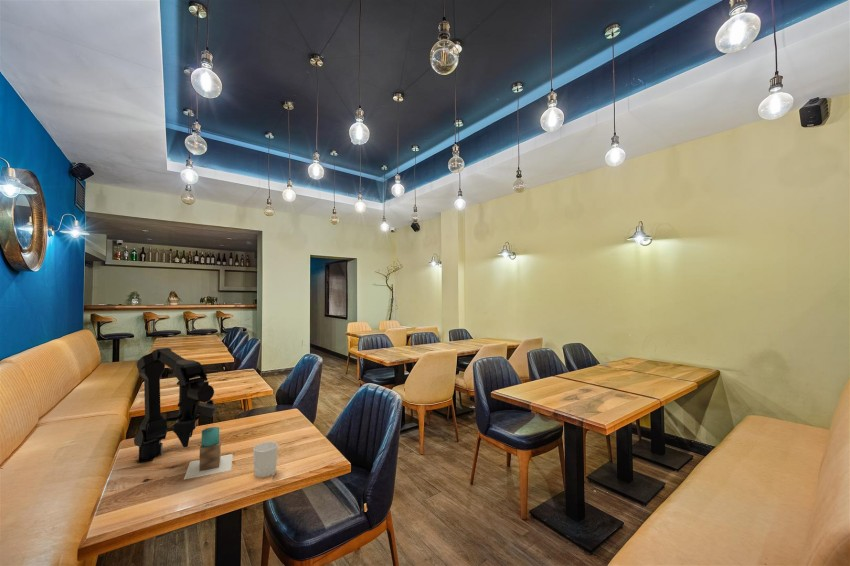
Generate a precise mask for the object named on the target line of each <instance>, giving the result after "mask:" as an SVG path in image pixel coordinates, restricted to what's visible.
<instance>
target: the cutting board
mask: <svg viewBox="0 0 850 566" xmlns="http://www.w3.org/2000/svg"><path fill="white" fill-rule="evenodd" d="M233 457H234V453H231V454H224V455H220V465H219V468H214V469H209V470H204V471H199V464H200V459H198V460H197V459H196V460H191V461H190V462H189V464H188V467H187V470H186V472H185V475H184V478H183V481H184V480H189V479H194V478H199V477H203V476H208V475H213V474H219V473H224V472H229V471H230V472H231V470H232V465H233Z"/></svg>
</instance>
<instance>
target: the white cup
mask: <svg viewBox="0 0 850 566" xmlns="http://www.w3.org/2000/svg"><path fill="white" fill-rule="evenodd" d="M278 447H279V444H278V443H277V442H275V441H265V442H261V443H260V442H259V443H258V444H256V445H254V446H253V449H252V450H253V454H252V455H253V470H254V476H255V477H256V478H266V477H269V476H271V477H272V476H275V475H276V472H277V465H278V464H277V463H278V462H277V461H278Z"/></svg>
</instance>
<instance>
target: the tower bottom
mask: <svg viewBox="0 0 850 566" xmlns="http://www.w3.org/2000/svg"><path fill="white" fill-rule="evenodd" d="M220 453H221V450H220ZM220 456H221V454H220V455H219V456H218V457H213V458H207V459H202V460H200V459H199V460H200V464H199V471H204V470H209V469H214V468H219V465H220Z"/></svg>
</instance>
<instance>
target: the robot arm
mask: <svg viewBox="0 0 850 566" xmlns="http://www.w3.org/2000/svg"><path fill="white" fill-rule="evenodd" d="M166 366H167V367H168V368H169V369H171V370H172V371H173V372H174V374H173V375H174V377H175V378H176V379H177V380H178V381H177V382H176V385H177V386H179V387H178V388H179V390H178V392H179V394H178V403H177V407H178V414H177V420H176V421H175V422H174V423H173V425H172V432H173V433H174V434H175V435H176V437H177V439H178V440H179V442H180V443H181V445H182V447H183V448H188V446H189V441H190V438H192V436H193V433H194V430H195V429H196V428H197V421H198V419H200V417H201V416H206V417H208V418H212V417H213V416H214V414H215V412H216V411H215V410H216V408H217V405H216V404H214V402H215V401H214V399H212V398H213V397H214V395H215V389H214V387H213V386H212V385H209V381H208V375H207V373H206V371H205V369H204V367H203V365H202V364H201V363H200V362H199V361H197V360H193V359H185V358H184V357H182V356H181V355H180V354H178V353H176V352H174V351H172V349H171V348H169V347H163V348H157V349H154V350H153V351H152V352H150V353H148V354H145V355H143V356H141V357H140V359H138V360H137V361H136V368H137V369H138V374H139V375H140V376H141V378H142V379H143V383H144V384H143V387H144V388H143V391H144V418H143V420H141V423H140V424H139V430H138V432H137V434H136V435H135V436H134V438H133V444H134V446H136V447H138V460H136V463H137V464H139V463H145V462H149V461H151V462H152V461H154V460H155V457H159V456H162V454H163V445H164V444H163V442H162V440H166V437H167V434H168V429H169V427H168V420H167V418H165V417H164V416H162V414H161V377H162V375H163V373H164V371H166V370H165V367H166Z"/></svg>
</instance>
